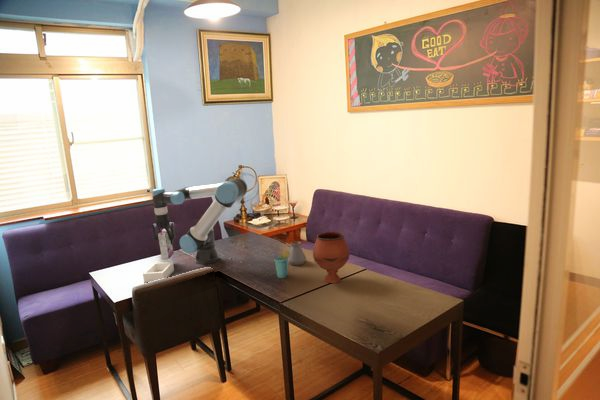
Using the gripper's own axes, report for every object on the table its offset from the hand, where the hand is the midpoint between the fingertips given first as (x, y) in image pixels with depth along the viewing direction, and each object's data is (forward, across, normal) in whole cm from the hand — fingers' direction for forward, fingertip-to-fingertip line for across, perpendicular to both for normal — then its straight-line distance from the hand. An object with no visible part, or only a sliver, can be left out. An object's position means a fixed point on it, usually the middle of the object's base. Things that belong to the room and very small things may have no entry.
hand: (166, 249), depth 254 cm
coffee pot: (+12, -76, +5) cm, 78 cm away
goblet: (+12, -100, +36) cm, 107 cm away
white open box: (+10, 0, +18) cm, 21 cm away
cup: (+12, -72, +28) cm, 79 cm away
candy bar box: (+5, 0, 0) cm, 5 cm away
